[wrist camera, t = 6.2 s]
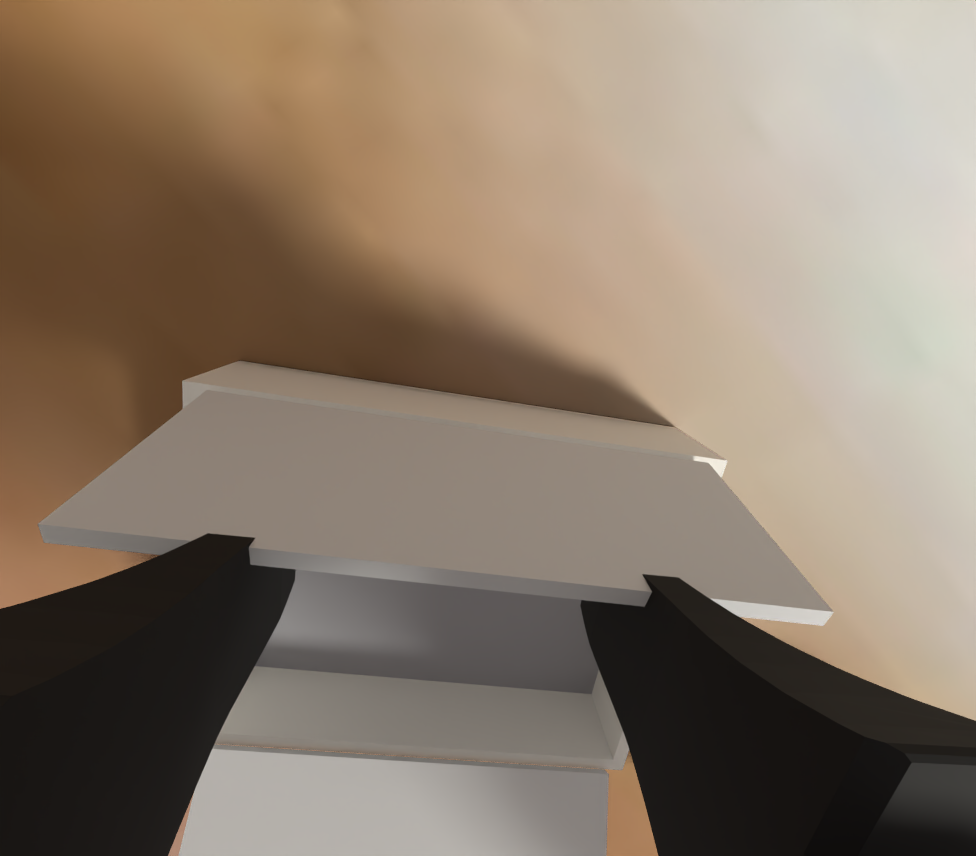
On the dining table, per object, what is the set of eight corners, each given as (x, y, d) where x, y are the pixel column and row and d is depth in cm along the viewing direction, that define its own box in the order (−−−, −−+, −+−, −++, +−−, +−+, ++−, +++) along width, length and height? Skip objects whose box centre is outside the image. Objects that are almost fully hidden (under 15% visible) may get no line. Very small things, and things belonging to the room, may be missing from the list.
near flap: (208, 402, 13) (207, 389, 12) (703, 473, 14) (708, 462, 14) (44, 542, 8) (37, 523, 8) (823, 625, 9) (833, 611, 9)
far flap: (608, 774, 17) (604, 769, 18) (205, 748, 16) (209, 744, 16) (603, 961, 16) (598, 952, 16) (154, 954, 14) (161, 943, 15)
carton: (676, 427, 18) (727, 460, 14) (596, 694, 21) (622, 770, 18) (239, 360, 16) (182, 380, 13) (233, 664, 20) (187, 742, 16)
